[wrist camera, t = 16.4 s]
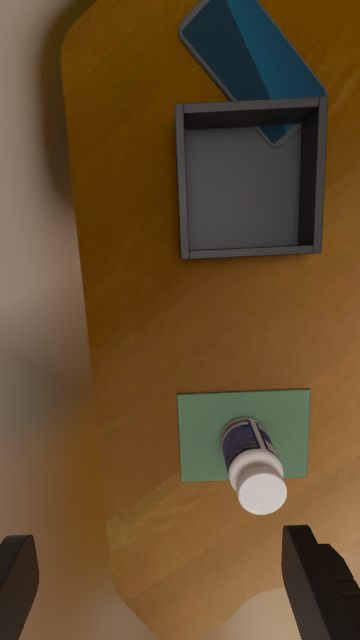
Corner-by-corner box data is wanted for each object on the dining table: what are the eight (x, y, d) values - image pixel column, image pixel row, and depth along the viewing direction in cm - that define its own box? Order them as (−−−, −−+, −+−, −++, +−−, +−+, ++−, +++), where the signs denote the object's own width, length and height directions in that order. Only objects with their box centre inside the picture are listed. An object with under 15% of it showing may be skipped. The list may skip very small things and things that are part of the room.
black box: (181, 257, 37) (181, 259, 33) (175, 123, 34) (174, 103, 30) (303, 252, 37) (321, 253, 32) (308, 116, 34) (328, 95, 30)
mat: (181, 479, 43) (181, 481, 43) (177, 393, 41) (177, 395, 40) (305, 475, 43) (307, 477, 43) (309, 388, 41) (310, 389, 40)
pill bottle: (215, 452, 42) (226, 515, 32) (226, 411, 41) (240, 463, 31) (260, 460, 42) (284, 524, 33) (271, 420, 41) (300, 474, 31)
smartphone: (272, 154, 35) (274, 152, 34) (173, 34, 33) (173, 28, 32) (329, 99, 34) (333, 95, 33) (230, -29, 32) (232, -37, 31)
